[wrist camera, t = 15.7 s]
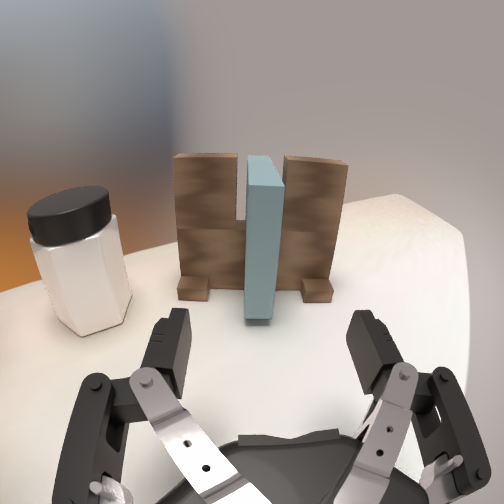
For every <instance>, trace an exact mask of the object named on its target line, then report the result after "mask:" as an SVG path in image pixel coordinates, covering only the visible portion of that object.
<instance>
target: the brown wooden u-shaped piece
mask: <svg viewBox="0 0 504 504" xmlns="http://www.w3.org/2000/svg"><path fill="white" fill-rule="evenodd" d="M237 155H238V154H237V153H191V154H190V153H189V154H178V155H176V156H175V157H173V176H174V195H175V196H174V197H175V213H176V226H177V239H178V250H179V260H180V269H181V278H180V281H179V284H178V287H177V292H178V299H179V300H192V301H207V299H208V293H209V288H215V289H244V280H245V249H246V220H236V195H237ZM347 171H348V165H346V164H345V163H343V162H341V161H339V160H330V159H320V158H310V157H298V156H284V166H283V179H282V182H283V184H284V186H285V192H284V204H283V216H282V227H281V238H280V248H279V258H278V268H277V278H276V287H275V290H301V294H302V298H303V301H304V303H322V302H331V300H332V296H333V292H334V290H333V288H332V286H331V283H330V281H329V275H330V270H331V265H332V260H333V255H334V250H335V245H336V240H337V235H338V229H339V223H340V218H341V212H342V205H343V199H344V192H345V186H346V179H347Z"/></svg>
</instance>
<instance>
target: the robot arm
mask: <svg viewBox="0 0 504 504" xmlns="http://www.w3.org/2000/svg"><path fill="white" fill-rule="evenodd" d="M191 341H192V332H191V325H190V317H189V310H188V309H184V308H172V310H171V313H170V316H169V318H161V319H160V320H159V321H158V322H157V323H156V324H155V325H154V328H153V331H152V335H151V337H150V340H149V343H148V346H147V349H146V352H145V355H144V358H143V361H142V364H141V367H140V369H138V370H136V371H135V372H134V373H133V374H132V375H131V376H130V377H128V378H123V379H114V380H110V379H109V378H108V376H106V375H105V374H103V373H92V374H90V375H88V376H87V377H86V378H85V379H84V380H83V382H82V384H81V387H80V390H79V393H78V396H77V399H76V402H75V405H74V408H73V412H72V415H71V418H70V422H69V425H68V428H67V432H66V436H65V439H64V443H63V447H62V451H61V455H60V460H59V464H58V469H57V474H56V479H55V484H54V489H53V495H52V504H134V503H133V497H132V494H131V492H130V491H129V490H128V489H127V488H126V487H125V486H123V485H121V475H122V467H123V460H124V453H125V447H126V440H127V434H128V429H129V423H132V422H141V421H148V420H149V422H150V424H151V425H152V427H153V429H154V430H155V432H156V434H157V435H158V437H159V438H160V440H161V442H162V443H163V445H164V446H165V448H166V449H167V451H168V452H169V454H170V455H171V457H172V458H173V460H174V461H175V463H176V464H177V466H178V467H179V468H180V470H181V471H182V473H183V474H184V475H185V478H184V479H183V480H182V481H181V482H180V483H179V484H178V485H176V486H175V487H174V488H173V489H172V490H171V491H170V492H169V493H167V494H166V495H165V496H164V497H163V498H162V499H160V500H159V501H158V502H157V503H156V504H450V503H452V502H454V501H457V500H459V499H461V498H463V497H465V496H467V495H469V494H471V493H473V492H475V491H477V490H479V489H481V488H482V487H484V486H485V485H486V484H487V483H488V481H489V480H490V477H491V468H490V464H489V461H488V457H487V454H486V451H485V448H484V445H483V443H482V439H481V437H480V434H479V431H478V429H477V426H476V423H475V421H474V418H473V416H472V413H471V411H470V409H469V406H468V404H467V402H466V399H465V397H464V395H463V393H462V390H461V388H460V386H459V384H458V382H457V380H456V378H455V376H454V374H453V372H452V371H451V370H449V369H448V368H446V367H437V368H436V369H435V370H434V371H433V372H432V374H430V373H420V372H417V370H416V368H415V367H414V366H413V365H411V364H409V363H406V362H404V361H403V359H402V357H401V354H400V352H399V350H398V348H397V346H396V344H395V343H394V341H393V339H392V337H391V335H390V333H389V331H388V329H387V327H386V325H384V324H383V323H382V322H381V321H380V320H379V319H375V318H374V316H373V314H372V312H371V311H370V310H356V311H355V312H354V313H353V316H352V319H351V322H350V325H349V328H348V331H347V334H346V342H347V345H348V348H349V351H350V354H351V357H352V360H353V362H354V365H355V368H356V371H357V374H358V377H359V380H360V383H361V386H362V389H363V392H364V395H367V394H373V396H374V398H373V399H372V401H371V403H370V405H369V408H368V410H367V412H366V414H365V416H364V418H363V420H362V422H361V424H360V427H359V428H358V430H357V432H356V433H355V435H354V436H353V438H352V437H349V436H346V435H340V434H339V430H338V429H331V430H323V431H315V432H312V433H309V434H306V435H303V436H300V437H297V438H293V439H285V438H279V437H273V436H268V435H238V441H233V442H230V443H227V444H225V445H222V446H220V447H219V448H217V447H216V446H215V445H214V444H213V443H212V441H211V440H210V439H209V438H208V436H207V435H206V434H205V433H204V431H203V430H202V429H201V427H200V426H199V425H198V423H197V422H196V421H195V419H194V418H193V417H192V415H191V414H190V413H189V412H188V410H187V409H184V408H183V407H182V406H181V404H180V403H179V401H178V400H177V399H182V393H183V387H184V381H185V375H186V370H187V364H188V358H189V353H190V347H191ZM436 406H437V409H438V411H439V414H440V417H441V422H440V419H439V416H438V413H437V411H436V408H435V407H436ZM410 421H412V424H413V428H414V431H415V434H416V438H417V441H418V445H419V449H420V452H421V456H422V460H423V464H424V469H423V471H422V474H421V478H420V480H419V484H418V483H417V482H415V481H414V480H412V479H411V478H409V477H408V476H407V475H405V474H404V473H402V472H401V471H399V470H398V469H397V468H395V467H394V464H395V462H396V460H397V457H398V455H399V452H400V450H401V447H402V444H403V442H404V439H405V436H406V433H407V430H408V427H409V424H410Z"/></svg>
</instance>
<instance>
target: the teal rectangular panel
mask: <svg viewBox="0 0 504 504" xmlns="http://www.w3.org/2000/svg"><path fill="white" fill-rule="evenodd" d="M246 188H247V189H246V216H245V220H246V249H245V280H244V318H245V319H272V314H273V305H274V296H275V287H276V278H277V268H278V258H279V248H280V238H281V227H282V216H283V204H284V192H285V186H284V184H283V182H282V180H281V178H280V176H279V174H278V172H277V170H276V168H275V166H274V164H273V163H272V161H271V159H270V157H269V156H254V155H248V160H247V187H246Z"/></svg>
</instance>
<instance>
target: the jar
mask: <svg viewBox="0 0 504 504" xmlns="http://www.w3.org/2000/svg"><path fill="white" fill-rule="evenodd" d="M27 217H28V225H29V229H30V232H31V234H32V238H31V239H30V243H31V246H32V249H33V253H34V256H35V259H36V263H37V266H38V268H39V271H40V274H41V277H42V280H43V283H44V285H45V288H46V290H47V293H48V296H49V298H50V300H51V303H52V305H53V308H54V310H55V312H56V314H57V317H58V319H59V320H60V321H62V322H63V323H64V324H65V325H67V326H68V327H69V328H70V329H72V330H73V331H74V332H75V333H77V334H78V335H79V336H81V337H83V336H86V335H89V334H92V333H95V332H98V331H101V330H104V329H107V328H110V327H113V326H116V325H119V324H121V323H122V321H123V318H124V316H125V313H126V310H127V307H128V304H129V302H130V299H131V296H132V294H131V290H130V285H129V281H128V277H127V272H126V268H125V263H124V258H123V253H122V248H121V243H120V237H119V231H118V225H117V218H116V215H113V214H111V207H110V200H109V192H108V190H107V189H106V188H104V187H101V186H84V187H77V188H72V189H68V190H64V191H61V192H58V193H55V194H53V195H50V196H48V197H45V198H43V199H41V200H39V201H38V202H36V203H35V204H34V205H32V206H31V207H30V208H29V209H28V211H27Z"/></svg>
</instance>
